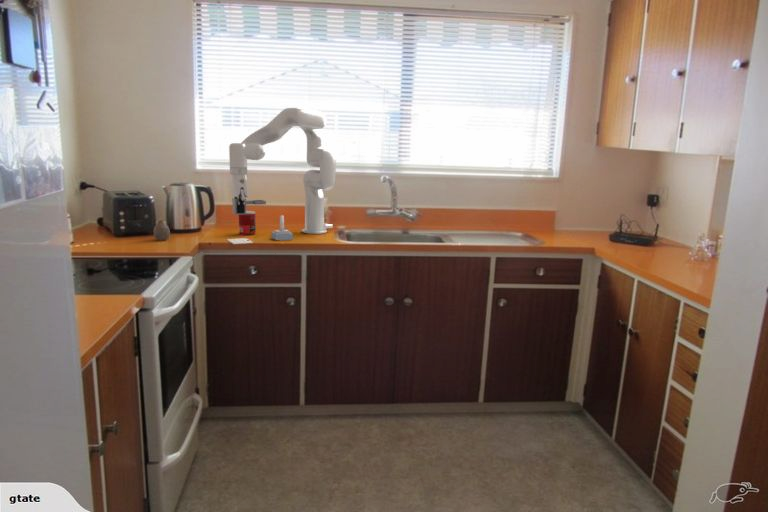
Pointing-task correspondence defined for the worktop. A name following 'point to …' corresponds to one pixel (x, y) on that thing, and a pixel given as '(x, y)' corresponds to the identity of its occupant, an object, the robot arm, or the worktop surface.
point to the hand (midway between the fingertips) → (239, 212)
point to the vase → (161, 231)
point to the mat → (239, 241)
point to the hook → (235, 202)
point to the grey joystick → (282, 232)
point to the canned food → (247, 223)
